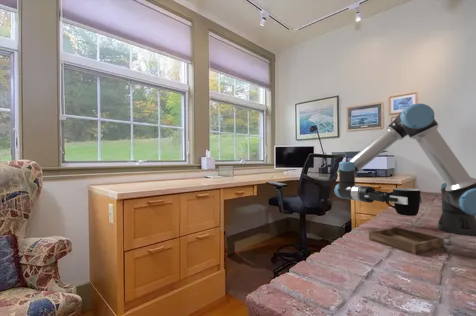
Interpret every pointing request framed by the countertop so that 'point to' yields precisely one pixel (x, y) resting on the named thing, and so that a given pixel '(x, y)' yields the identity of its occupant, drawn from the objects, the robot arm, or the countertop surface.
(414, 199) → the mug
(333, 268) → the countertop surface
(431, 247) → the walnut tray
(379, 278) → the countertop surface
